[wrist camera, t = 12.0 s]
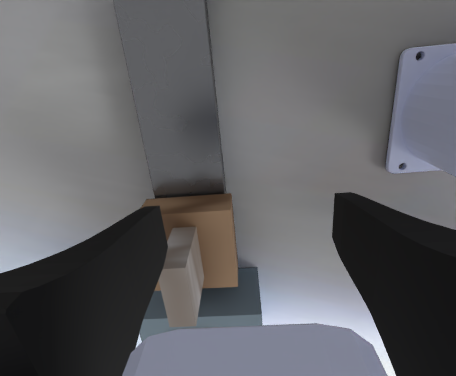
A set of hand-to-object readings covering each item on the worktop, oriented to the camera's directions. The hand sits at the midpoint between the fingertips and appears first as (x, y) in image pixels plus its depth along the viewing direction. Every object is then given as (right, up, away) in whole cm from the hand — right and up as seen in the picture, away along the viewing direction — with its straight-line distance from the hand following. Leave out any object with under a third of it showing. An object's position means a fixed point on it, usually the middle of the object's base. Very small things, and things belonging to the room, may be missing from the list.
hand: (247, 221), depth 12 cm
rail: (-4, +4, +9) cm, 10 cm away
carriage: (-3, -2, +9) cm, 10 cm away
